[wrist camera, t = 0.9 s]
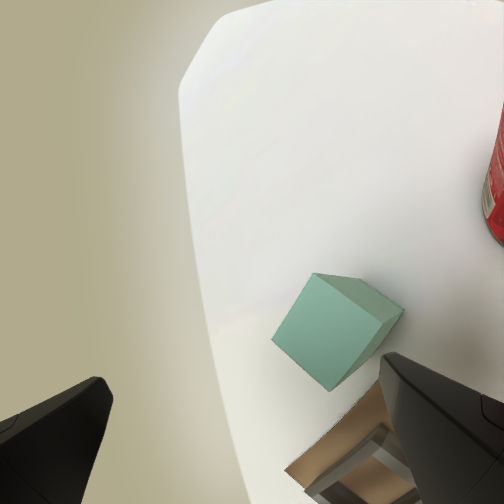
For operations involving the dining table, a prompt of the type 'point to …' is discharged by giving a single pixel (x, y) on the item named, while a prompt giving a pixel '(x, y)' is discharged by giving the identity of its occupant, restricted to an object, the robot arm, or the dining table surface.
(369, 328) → the rail post
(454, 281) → the dining table surface
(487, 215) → the soda can
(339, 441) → the square socket base
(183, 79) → the dining table surface
